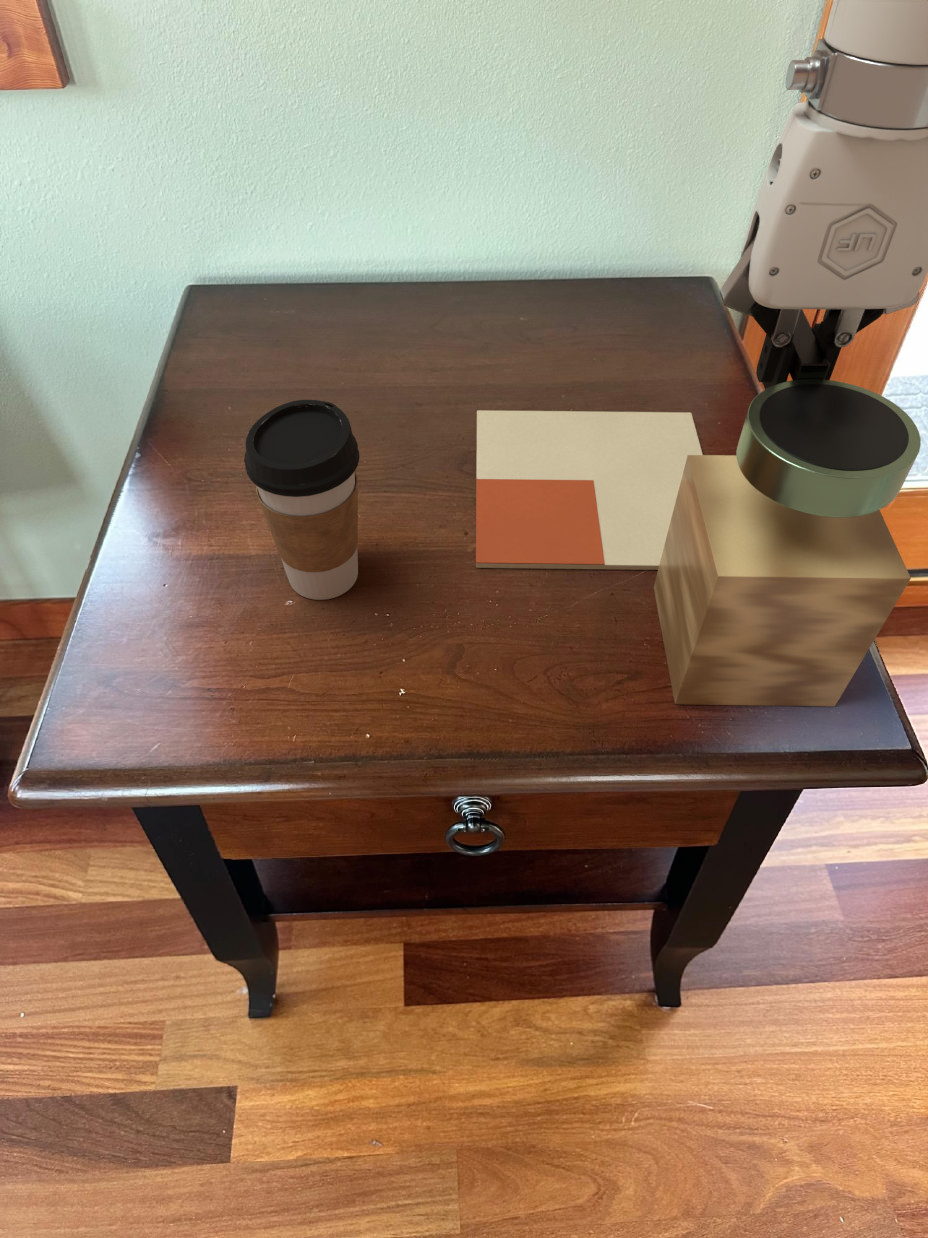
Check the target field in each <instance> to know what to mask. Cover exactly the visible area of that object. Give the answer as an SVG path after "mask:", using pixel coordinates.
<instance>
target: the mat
mask: <svg viewBox="0 0 928 1238" xmlns="http://www.w3.org/2000/svg"><path fill="white" fill-rule="evenodd" d="M701 447H702V446H701V443H700V440H699V435H698V432H697V428H696V424H695V421H694V418H693V414H692V412H685V411H683V412H682V411H681V412H680V411H679V412H675V411H673V412H672V411H671V412H669V411H663V412H662V411H587V410H586V411H585V410H584V411H578V410H576V411H573V410H571V411H570V410H568V411H567V410H480V409H479V410H477V411H476V466H475V467H476V468H475V469H476V472H475V473H476V475H475V476H476V477H475V480H476V481H475V485H476V487H475V493H476V495H475V509H476V510H475V513H476V514H475V568H476V569H532V570H533V569H537V570H539V569H540V570H541V569H542V570H618V571H619V570H623V571H624V570H626V571H627V570H628V571H629V570H630V571H634V570H635V571H641V570H642V571H658V568H659V564H660V560H661V557H662V553H663V549H664V545H665V541H666V537H667V533H668V529H669V525H670V522H671V518H672V514H673V510H674V506H675V502H676V498H677V494H678V491H679V487H680V483H681V479H682V475H683V471H684V467H685V463H686V459H687V456H688V455H704V454H703V451H702V448H701Z"/></svg>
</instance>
